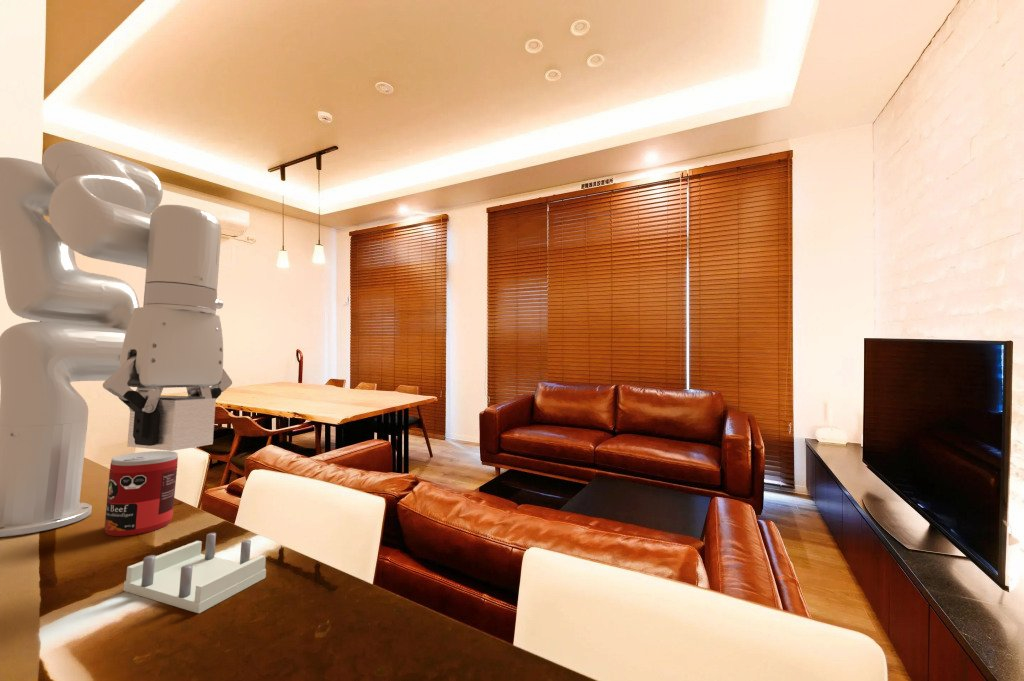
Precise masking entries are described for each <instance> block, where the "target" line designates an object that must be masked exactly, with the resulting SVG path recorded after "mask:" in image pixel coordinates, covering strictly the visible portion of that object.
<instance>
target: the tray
mask: <svg viewBox="0 0 1024 681" xmlns="http://www.w3.org/2000/svg"><path fill="white" fill-rule="evenodd" d="M216 538H217V533H216V532H209V533H207V534H206V538H205V547H204V548H205V551H204V554H203V553H202V544H203V541H201V540H195V541H193V542H190V543H187V544H186V545H182V546H180V547H177V548H174V549H172V550H169V551H167V552H163V553H161V554H159V555H158V554H157V555H155V554H150V555H147V556H146V555H145V557H144V558H143V560H142V561H139V562H137V563H135V564H132V565H128V566H127V567H126V575H125V576H126V579H125V580H124V582H123V591H124V592H126V593H130V594H132V595H137V596H141V597H142V598H146V599H150V600H152V601H157V602H160V603H162V604H166V605H170V606H173V607H176V608H179V609H183V610H186V611H189V612H193V613H196V614H201V613H202V612H204V611H206V610H208V609H211V607H215V605H218V604H219V603H221V602H223V601H225V600H227V599H228V598H231V597H232V596H234V595H237V594H238V593H240V592H242V591H243V590H246V589H247V588H249V587H252V586H253V585H255V584H256V583H258V582H261V581H262V580H264V579H265V578H267V577H266V576H267V569H266V561H267V560H266V559H267V556H266V555H262V554H259V555H258V556H256V557H254V558H251V559H250V557H251V547H252V546H251V545H252V544H251V543H252V541H251V539H246V540H243V541H241V544H240V557H239V561H238V562H237V561H233V560H229V559H225V558H221V557H215V555H216V554H215V552H216Z"/></svg>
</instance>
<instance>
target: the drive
mask: <svg viewBox="0 0 1024 681" xmlns="http://www.w3.org/2000/svg"><path fill="white" fill-rule="evenodd" d="M216 401H217V399H216V398H205V397H195V396H188V395H160V398H159V401H158V403H157V406H156V408H155V412H159V414H160V419H159V432H158V443H157V444H156V445H153V446H146V445H136V444H135V439H134V437H133V427H134V415H135V412H132V411H130V410H129V419H128V422H129V423H128V430H127V431H128V432H127V433H128V434H127V444H126V445H127V447H128V448H129V447H131V448H140V449H149V450H157V451H171V452H175V451H178V450H185V449H191V448H198V447H204V446H205V447H206V446H209V445H213V443H214V431H215V416H216V414H215V413H216Z"/></svg>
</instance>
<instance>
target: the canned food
mask: <svg viewBox="0 0 1024 681" xmlns="http://www.w3.org/2000/svg"><path fill="white" fill-rule="evenodd" d="M178 459H179V456H178V452H176V451H167V450H156V451H154V450H151V451H141V452H133V453H132V452H131V453H126V454H122V455H117V456H115V457H112V458H111V462H110V467H109V472H108V473H109V475H108V486H107V498H106V507H105V518H104V531H105V533H106V534H107V535H108V536H112V537H127V536H135V535H142V534H146V533H150V532H155V531H156V530H160V529H162V528H165V527H167V526H168V525H169V524H170V523H171V520H172V519H173V516H174V515H173V514H174V505H175V494H176V482H177V475H178V474H177V473H178V461H179V460H178Z"/></svg>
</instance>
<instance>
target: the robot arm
mask: <svg viewBox="0 0 1024 681" xmlns="http://www.w3.org/2000/svg"><path fill="white" fill-rule="evenodd" d="M41 159H42V160H41V161H42V164H41V163H39V162H35V161H32V160H28V159H21V158H17V157H7V156H6V157H4V156H3V157H0V262H1V269H2V278H3V287H4V294H5V299H6V303H7V306H8V308H9V309H10V311H11V312H12V313H13V314H14V315H16V316H18V317H20V318H22V319H25V320H29V322H28V321H27V322H22V323H17V324H15V325H12V326H10V327H8V328H7V329H6V330H5V329H4V331H3V332H2V333H1V335H0V538H2V537H3V538H5V537H14V536H21V535H26V534H33V533H39V532H40V533H41V532H44V531H49V530H53V529H56V528H61V527H64V526H68V525H70V524H74V523H76V522H79V521H81V520H85V518H87V517H89V516H90V515H91V514H92V509H93V506H92V504H90V503H86V502H80V499H81V492H82V491H81V490H82V480H83V469H84V460H85V453H86V452H85V451H86V440H87V430H88V421H89V420H88V419H89V407H88V403H87V402H86V400H85V398H83V396H82V395H81V394H80V392H78V391H77V390H76V389H75V388H74V387H73V385H72V384H71V383H73V382H99V381H100V382H103V383H102V387H103V389H104V390H106V391H107V392H109V393H110V394H112V395H113V396H116V397H118V399H119V400H120V401H121V402H122V403H123V404H124V405H126V406H127V407H128V409H129V412H130V411H132V412H135V415H134V427H133V437H134V439H135V444H136V445H146V446H153V445H156V444H157V443H158V432H159V419H160V414H159V412H155V408H156V406H157V403H158V401H159V398H160V396H162V395H161V394H162V393H163V390H164V389H168V388H170V389H171V388H186V393H187V396H195V397H205V398H216V400H217V399H218V398H219V397H220V396H221V395H222V393H223V392H225V391H226V390H227V389H228V388H230V387H231V386H232V384H233V380H232V378H230V376H229V375H228V373H227V372H226V371H225V368H224V339H223V338H224V337H223V330H222V324H221V316H220V315H218V314H217V313H216V312H217V309H218V310H221V309H222V308H223V306H224V301H223V300H221V299H218V286H219V285H218V283H219V270H220V269H219V268H220V267H219V266H220V253H221V240H222V227H221V223H220V221H219V220H218V218H217V217H215V215H213V214H211V213H209V212H207V211H205V210H202V209H199V208H195V207H192V206H187V205H181V204H161V203H162V199H163V194H164V191H163V185H162V183H161V181H160V178H159V177H158V176H157V175H156V174H155V173H154V172H153V171H152V170H151V169H149V168H147V167H146V166H143V165H141V164H140V163H136V162H134V161H131V160H128V159H126V158H123V157H121V156H118V155H115V154H112V153H110V152H107V151H105V150H103V149H100V148H97V147H95V146H91V145H89V144H84V143H81V142H75V141H61V142H56V143H54V144H51V145H50V146H48V147H47V148H46V149H45V150H44V152H43V154H42V158H41ZM160 204H161V205H160ZM44 216H45V217H47V218H49V221H48V220H47V219H46V218H45V217H44ZM75 252H76V253H78V254H80V255H82V256H84V257H87V258H91V259H95V260H100V261H103V262H104V261H105V262H110V263H116V264H122V265H126V266H132V267H137V268H141V269H145V278H144V279H145V280H144V283H145V284H144V292H143V305H142V307H140V303H139V299H138V296H137V294H136V292H135V289H134V288H133V287H132V285H130V284H129V283H128V282H126V281H125V280H123V279H121V278H118V277H114V276H111V275H110V276H109V275H104V274H100V273H99V274H98V273H93V272H88V271H84V270H83V269H81V268H79V267H78V265H77V261H76V254H75ZM216 314H217V315H216ZM30 320H31V321H30ZM132 388H135V389H136V390H134V389H132Z"/></svg>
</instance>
